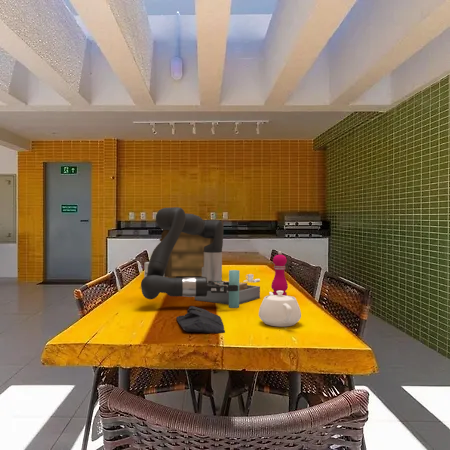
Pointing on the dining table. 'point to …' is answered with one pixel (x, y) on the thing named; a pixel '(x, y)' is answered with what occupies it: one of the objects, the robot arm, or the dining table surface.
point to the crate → (186, 255)
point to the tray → (223, 298)
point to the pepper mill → (279, 274)
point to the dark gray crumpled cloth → (201, 321)
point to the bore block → (241, 286)
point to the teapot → (279, 310)
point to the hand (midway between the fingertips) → (236, 286)
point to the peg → (234, 294)
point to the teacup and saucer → (251, 278)
